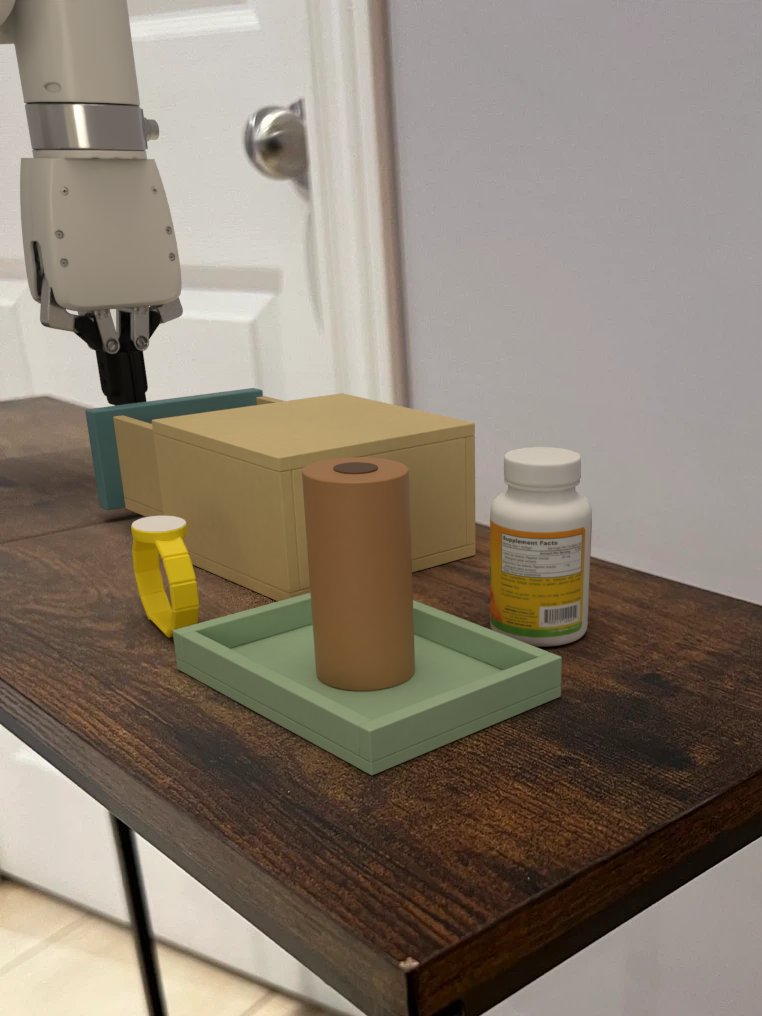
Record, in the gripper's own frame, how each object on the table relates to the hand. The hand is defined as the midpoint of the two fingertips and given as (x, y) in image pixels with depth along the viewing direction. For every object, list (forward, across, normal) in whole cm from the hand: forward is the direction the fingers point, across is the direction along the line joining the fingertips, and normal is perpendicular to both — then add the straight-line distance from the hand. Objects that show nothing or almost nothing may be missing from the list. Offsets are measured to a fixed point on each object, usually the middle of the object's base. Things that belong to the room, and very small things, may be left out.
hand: (127, 404), depth 88 cm
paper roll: (+6, +11, +43) cm, 45 cm away
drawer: (+5, 0, +12) cm, 13 cm away
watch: (+6, +14, +30) cm, 34 cm away
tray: (+6, +11, +43) cm, 45 cm away
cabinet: (+6, 0, +25) cm, 25 cm away
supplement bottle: (+6, 0, +44) cm, 44 cm away
